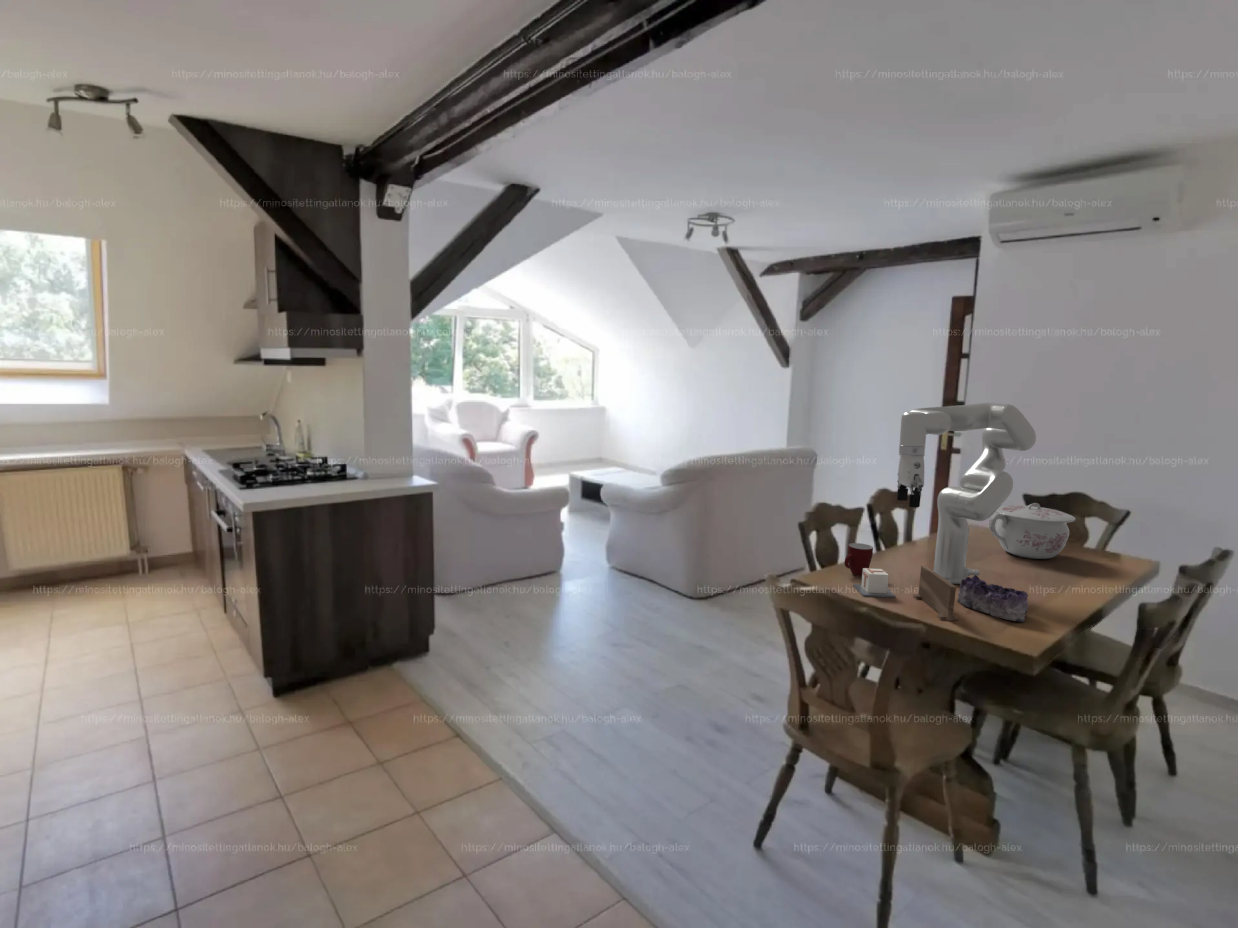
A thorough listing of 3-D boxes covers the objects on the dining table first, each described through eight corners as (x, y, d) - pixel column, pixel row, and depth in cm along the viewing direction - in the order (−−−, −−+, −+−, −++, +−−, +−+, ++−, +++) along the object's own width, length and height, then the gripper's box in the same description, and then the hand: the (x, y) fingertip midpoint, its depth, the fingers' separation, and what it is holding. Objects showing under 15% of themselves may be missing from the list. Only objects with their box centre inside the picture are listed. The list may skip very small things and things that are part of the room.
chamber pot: (1069, 553, 268) (1076, 502, 265) (1071, 569, 245) (1078, 514, 242) (989, 541, 283) (995, 493, 280) (984, 555, 260) (990, 503, 257)
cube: (880, 586, 216) (881, 568, 215) (886, 593, 210) (888, 574, 209) (860, 586, 216) (862, 567, 216) (866, 592, 210) (868, 573, 210)
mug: (856, 580, 224) (859, 551, 222) (836, 574, 230) (838, 545, 229) (875, 575, 230) (878, 547, 229) (855, 569, 237) (857, 541, 235)
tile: (884, 586, 218) (884, 585, 218) (895, 597, 208) (895, 595, 208) (853, 585, 219) (853, 583, 218) (863, 596, 209) (863, 594, 209)
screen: (928, 596, 210) (931, 565, 209) (958, 620, 190) (962, 587, 189) (912, 596, 210) (915, 565, 209) (940, 620, 190) (944, 586, 189)
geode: (947, 605, 203) (951, 573, 203) (964, 603, 210) (968, 571, 210) (1019, 624, 187) (1024, 589, 187) (1035, 621, 195) (1040, 587, 194)
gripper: (935, 455, 204) (931, 509, 207) (912, 447, 221) (909, 498, 224) (910, 454, 205) (906, 509, 207) (889, 447, 222) (886, 497, 224)
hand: (907, 503), depth 216 cm, fingers open, 9 cm apart
